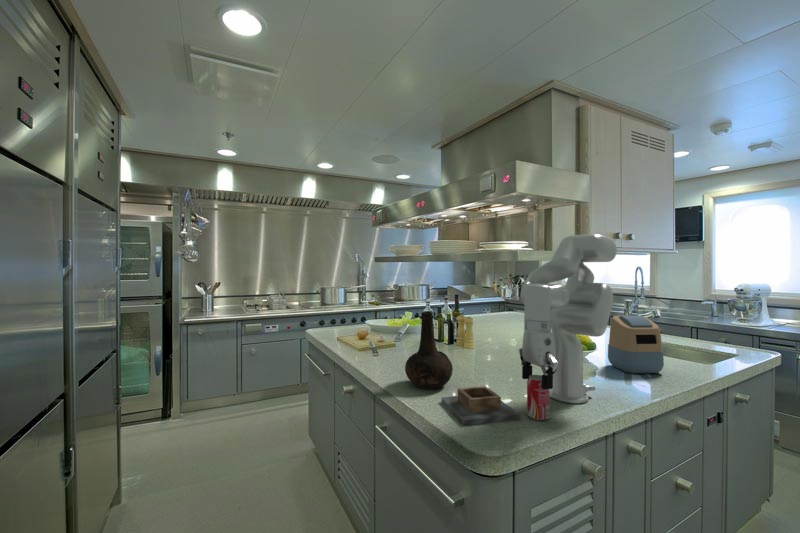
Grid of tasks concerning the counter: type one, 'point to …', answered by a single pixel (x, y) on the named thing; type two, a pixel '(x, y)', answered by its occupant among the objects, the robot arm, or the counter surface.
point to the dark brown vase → (428, 359)
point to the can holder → (479, 406)
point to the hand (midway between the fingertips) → (536, 383)
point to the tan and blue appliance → (635, 345)
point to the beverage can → (537, 398)
